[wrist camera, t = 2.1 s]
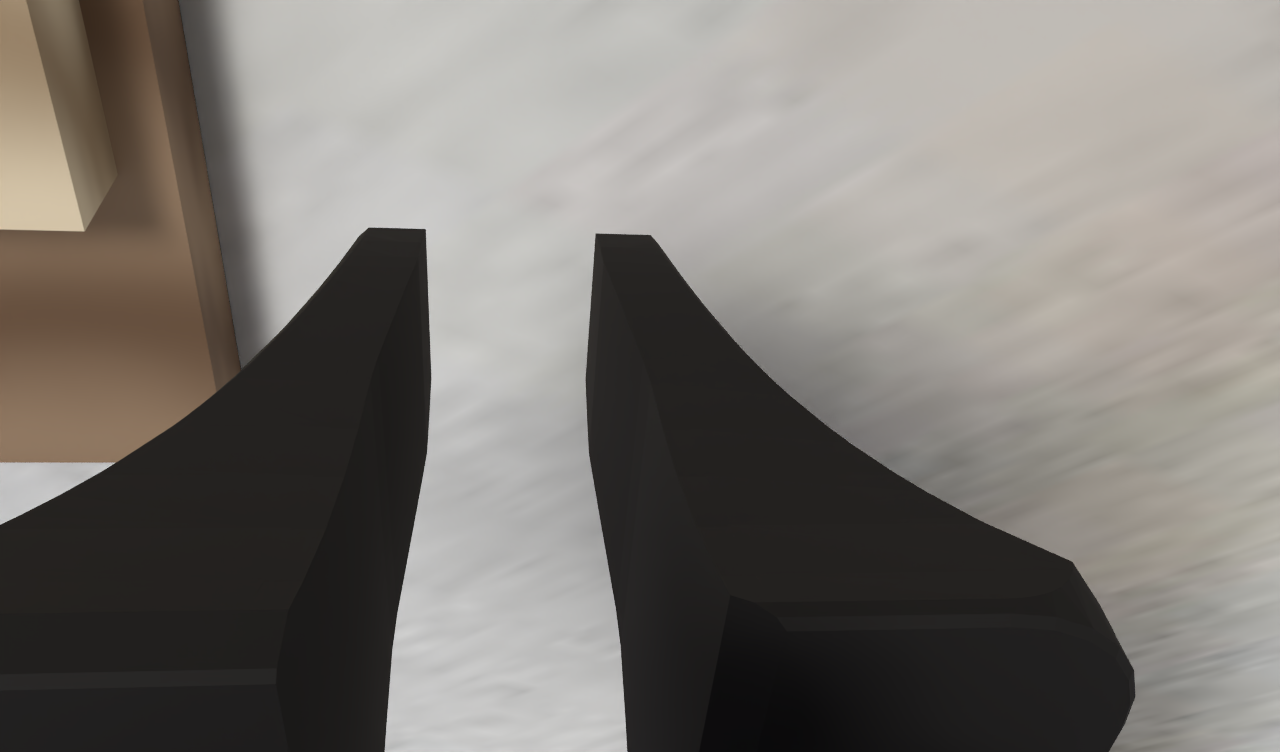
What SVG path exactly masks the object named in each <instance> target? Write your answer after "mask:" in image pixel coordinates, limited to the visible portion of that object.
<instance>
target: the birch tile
mask: <svg viewBox="0 0 1280 752" xmlns="http://www.w3.org/2000/svg"><path fill="white" fill-rule="evenodd" d="M117 176H118V173H117V168H116V164H115V160H114V155H113V151H112V146H111V142H110V137H109V133H108V128H107V124H106V119H105V115H104V110H103V106H102V102H101V97H100V93H99V88H98V84H97V79H96V75H95V70H94V66H93V61H92V57H91V52H90V48H89V44H88V39H87V35H86V30H85V26H84V21H83V17H82V12H81V8H80V3H79V0H0V229H5V230H44V231H84V232H85V230H86V228H87V227H88V225H89V223H90V221H91V220H92V218H93V216H94V215H95V213H96V211H97V210H98V208H99V206H100V204H101V203H102V201H103V199H104V198H105V196H106V194H107V193H108V191H109V189H110V187H111V186H112V184H113V182H114V181H115V179H116V177H117Z"/></svg>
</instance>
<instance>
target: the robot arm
mask: <svg viewBox="0 0 1280 752" xmlns="http://www.w3.org/2000/svg"><path fill="white" fill-rule="evenodd" d="M430 391H431V359H430V332H429V306H428V280H427V253H426V229H400V228H368V229H367V230H366V231H365V232H363V233H362V234H361V235H360V236H359V237H358V238H357V240H356V241H355V243H354V244H353V245H352V247H351V248H350V249H349V251H348V252H347V253H346V255H345V256H344V257H343V259H342V260H341V261H340V263H339V264H338V265H337V266H336V268H335V269H334V270H333V272H332V273H331V274H330V275H329V277H328V278H327V279H326V280H325V281H324V283H323V284H322V285H321V286H320V288H319V289H318V290H317V291H316V292H315V293H314V295H313V296H312V297H311V298H310V299H309V300H308V301H307V303H306V304H305V305H304V306H303V307H302V308H301V309H300V310H299V312H298V313H297V314H296V315H295V316H294V317H293V318H292V319H291V321H290V322H289V323H288V324H287V325H286V326H285V327H284V328H283V329H282V330H281V331H280V332H279V334H278V335H277V336H276V337H274V338H273V339H272V340H271V341H270V342H269V343H268V344H267V345H266V346H265V347H264V348H263V349H262V350H261V351H260V352H259V353H258V354H257V355H256V356H255V357H254V358H253V359H252V360H251V361H250V362H249V363H248V364H247V365H246V366H245V367H244V368H243V369H242V370H241V371H240V372H239V373H238V374H236V375H235V376H234V377H233V378H232V379H231V380H230V381H229V382H227V383H226V384H225V385H224V386H223V387H222V388H221V389H219V390H218V391H217V392H216V393H215V394H213V395H212V396H211V397H210V398H209V399H207V400H206V401H205V402H204V403H202V404H201V405H200V406H199V407H197V408H196V409H195V410H193V411H192V412H191V413H190V414H188V415H187V416H186V417H184V418H183V419H182V420H180V421H179V422H177V423H176V424H175V425H173V426H172V427H170V428H169V429H167V430H166V431H164V432H163V433H161V434H159V435H158V436H156V437H155V438H153V439H152V440H150V441H149V442H147V443H146V444H144V445H143V446H141V447H139V448H138V449H136V450H135V451H133V452H132V453H130V454H129V455H127V456H126V457H124V458H123V459H121V460H119V461H118V462H116V463H115V464H113V465H112V466H110V467H109V468H107V469H105V470H104V471H102V472H100V473H99V474H97V475H95V476H93V477H92V478H90V479H88V480H86V481H84V482H83V483H81V484H79V485H77V486H75V487H74V488H72V489H70V490H68V491H66V492H65V493H63V494H61V495H59V496H57V497H55V498H53V499H51V500H49V501H47V502H45V503H43V504H41V505H40V506H38V507H36V508H34V509H32V510H30V511H28V512H26V513H24V514H22V515H20V516H18V517H16V518H14V519H12V520H10V521H7V522H5V523H3V524H1V525H0V752H384V750H385V736H386V723H387V710H388V697H389V684H390V671H391V658H392V647H393V640H394V633H395V626H396V618H397V612H398V606H399V601H400V596H401V590H402V585H403V580H404V574H405V569H406V564H407V558H408V553H409V548H410V542H411V537H412V531H413V526H414V521H415V515H416V510H417V505H418V499H419V494H420V488H421V483H422V477H423V472H424V466H425V461H426V455H427V443H428V427H429V410H430ZM586 399H587V422H588V442H589V456H590V462H591V468H592V474H593V480H594V485H595V491H596V497H597V503H598V509H599V515H600V520H601V526H602V532H603V537H604V543H605V549H606V554H607V560H608V566H609V572H610V577H611V583H612V589H613V594H614V600H615V606H616V612H617V620H618V628H619V636H620V644H621V657H622V672H623V687H624V702H625V717H626V734H627V751H628V752H1109V750H1110V748H1111V747H1112V745H1113V743H1114V742H1115V740H1116V738H1117V736H1118V735H1119V733H1120V731H1121V730H1122V728H1123V726H1124V724H1125V722H1126V720H1127V717H1128V714H1129V712H1130V709H1131V706H1132V704H1133V701H1134V698H1135V682H1134V669H1133V668H1132V666H1131V664H1130V662H1129V660H1128V658H1127V656H1126V654H1125V653H1124V651H1123V649H1122V647H1121V645H1120V643H1119V641H1118V639H1117V638H1116V636H1115V633H1114V631H1113V629H1112V627H1111V625H1110V623H1109V621H1108V620H1107V618H1106V616H1105V614H1104V612H1103V610H1102V608H1101V606H1100V604H1099V603H1098V601H1097V600H1096V598H1095V597H1094V595H1093V593H1092V592H1091V590H1090V589H1089V587H1088V586H1087V584H1086V583H1085V581H1084V579H1083V578H1082V576H1081V575H1080V573H1079V572H1078V570H1077V568H1076V567H1075V565H1074V564H1073V562H1071V561H1069V560H1067V559H1065V558H1062V557H1060V556H1058V555H1056V554H1053V553H1051V552H1049V551H1047V550H1044V549H1042V548H1040V547H1038V546H1035V545H1033V544H1031V543H1029V542H1026V541H1024V540H1022V539H1020V538H1017V537H1015V536H1013V535H1011V534H1008V533H1006V532H1004V531H1002V530H999V529H997V528H995V527H993V526H990V525H988V524H986V523H984V522H982V521H980V520H978V519H976V518H974V517H972V516H970V515H968V514H966V513H965V512H963V511H961V510H959V509H957V508H955V507H953V506H952V505H950V504H948V503H946V502H944V501H942V500H940V499H939V498H937V497H935V496H933V495H931V494H929V493H927V492H926V491H924V490H922V489H921V488H919V487H917V486H916V485H914V484H912V483H911V482H909V481H907V480H906V479H904V478H902V477H900V476H899V475H897V474H896V473H894V472H892V471H891V470H889V469H888V468H886V467H885V466H883V465H882V464H880V463H879V462H877V461H876V460H874V459H873V458H871V457H870V456H868V455H867V454H865V453H864V452H862V451H861V450H859V449H858V448H856V447H855V446H853V445H852V444H851V443H849V442H848V441H846V440H845V439H844V438H842V437H841V436H840V435H838V434H837V433H836V432H834V431H833V430H831V429H830V428H829V427H827V426H826V425H825V424H824V423H823V422H821V421H820V420H819V419H818V418H816V417H815V416H814V415H813V414H812V413H810V412H809V411H808V410H807V409H805V408H804V407H803V406H802V405H801V404H799V403H798V402H797V401H796V400H794V399H793V398H792V397H791V396H790V395H789V394H787V393H786V392H785V391H784V390H783V389H782V388H781V387H780V386H779V385H777V384H776V383H775V382H774V381H773V380H772V379H771V378H770V377H769V376H768V375H767V374H766V373H765V372H764V371H763V370H762V369H761V368H760V367H759V366H758V365H757V364H756V363H755V362H754V361H753V360H752V359H751V358H750V357H749V356H748V355H747V354H746V353H745V352H744V351H743V350H742V349H741V347H740V346H739V345H738V344H737V343H736V342H735V341H734V340H733V339H732V337H731V336H730V335H729V334H728V333H727V332H726V330H725V329H724V328H723V327H722V326H721V325H720V323H719V322H718V321H717V320H716V319H715V318H714V316H713V315H712V314H711V313H710V312H709V311H708V309H707V308H706V307H705V306H704V304H703V303H702V302H701V301H700V299H699V298H698V297H697V296H696V294H695V293H694V292H693V290H692V289H691V288H690V287H689V285H688V284H687V283H686V281H685V280H684V279H683V277H682V276H681V275H680V273H679V272H678V271H677V269H676V268H675V267H674V265H673V264H672V262H671V261H670V260H669V258H668V257H667V255H666V254H665V253H664V251H663V250H662V248H661V247H660V246H659V244H658V243H657V242H656V241H655V240H654V239H653V238H652V236H651V235H626V234H596V238H595V252H594V267H593V281H592V296H591V310H590V324H589V339H588V353H587V368H586Z"/></svg>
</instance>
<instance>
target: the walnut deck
mask: <svg viewBox="0 0 1280 752" xmlns="http://www.w3.org/2000/svg"><path fill="white" fill-rule="evenodd" d="M79 3H80V8H81V12H82V17H83V21H84V26H85V30H86V35H87V39H88V44H89V48H90V52H91V57H92V61H93V66H94V70H95V75H96V79H97V84H98V88H99V93H100V97H101V102H102V106H103V110H104V115H105V119H106V124H107V128H108V133H109V137H110V142H111V146H112V151H113V155H114V160H115V164H116V168H117V173H118V176H117V177H116V179H115V181H114V182H113V184H112V186H111V187H110V189H109V191H108V193H107V194H106V196H105V198H104V199H103V201H102V203H101V204H100V206H99V208H98V210H97V211H96V213H95V215H94V216H93V218H92V220H91V221H90V223H89V225H88V227H87V228H86V230H85V232H84V231H44V230H5V229H0V462H118V461H119V460H121V459H123V458H124V457H126V456H127V455H129V454H130V453H132V452H133V451H135V450H136V449H138V448H139V447H141V446H143V445H144V444H146V443H147V442H149V441H150V440H152V439H153V438H155V437H156V436H158V435H159V434H161V433H163V432H164V431H166V430H167V429H169V428H170V427H172V426H173V425H175V424H176V423H177V422H179V421H180V420H182V419H183V418H184V417H186V416H187V415H188V414H190V413H191V412H192V411H193V410H195V409H196V408H197V407H199V406H200V405H201V404H202V403H204V402H205V401H206V400H207V399H209V398H210V397H211V396H212V395H213V394H215V393H216V392H217V391H218V390H219V389H221V388H222V387H223V386H224V385H225V384H226V383H227V382H229V381H230V380H231V379H232V378H233V377H234V376H235V375H236V374H238V373H239V372H240V371H241V368H240V362H239V356H238V350H237V344H236V338H235V332H234V327H233V321H232V315H231V309H230V303H229V297H228V291H227V285H226V279H225V273H224V268H223V262H222V256H221V250H220V244H219V238H218V232H217V226H216V220H215V214H214V208H213V203H212V197H211V191H210V185H209V179H208V173H207V167H206V161H205V155H204V149H203V144H202V138H201V132H200V126H199V120H198V114H197V108H196V102H195V96H194V90H193V85H192V79H191V73H190V67H189V61H188V55H187V49H186V43H185V37H184V31H183V25H182V20H181V14H180V8H179V2H178V0H79Z"/></svg>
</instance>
